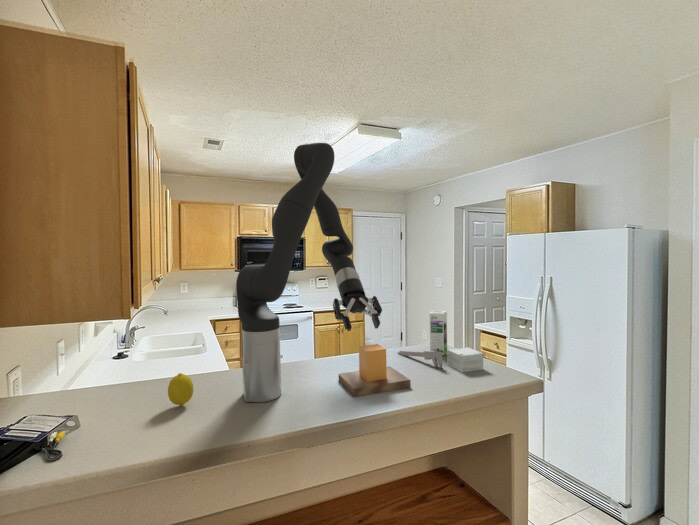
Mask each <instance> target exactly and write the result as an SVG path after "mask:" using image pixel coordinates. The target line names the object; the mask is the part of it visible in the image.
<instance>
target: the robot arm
mask: <svg viewBox="0 0 699 525" xmlns="http://www.w3.org/2000/svg"><path fill="white" fill-rule="evenodd" d="M293 161H294V165H295V168H296V171H297V173H298V175H299V178H300V180H299V181H298V182H297V183H296V184H295V185H293V186H292V187H291V188H290V189H289V190H288V191H286V193H285V194H284V195H283V196H282V197H281V198H280V200H279V202H278V205H277V206H276V209H275V211H274V213H273V214H272V215H273V216H272V218H271V229H272V236H273V245H272V246H273V247H272V250H271V251H270V254H269V256H268V257H267V258H268V259H267V260H266V262H265V263H264V264H248V265H245V266H243V267H242V268H241V269H240V271H239V272H238V274H237V277H236V284H235V285H236V287H235V289H236V290H235V293H236V294H235V295H236V304H237V313H238V318H239V321H240V323H241V334H242V337H241V340H242V358H241V359H242V360H241V361H242V385H243V387H242V389H243V391H242V392H243V398H244V402H245V403H249V402H252V403H265V402H269V401H274V400H276V399H277V398H279V397H280V396H281V395H282V370H281V368H282V366H281V365H282V364H281V332H280V331H281V329H280V317H279V316H278V315H277V314H276V313H275V312H273V311H272V310H271V309H270V307H269V305H268V303H273V302H275V301H277V300H279V299H280V298H281V296H282V295H283V293H284V292H285V291H284V290H285V289H286V286H287V283H288V279H289V275H290V272H291V268H292V265H293V262H294V258H295V255H296V252H297V250H298V247H299V245H300V241H301V239H302V237H303V234H304V232H305V229H306V227H307V224H308V222H309V219H310V217H311V214H312V212H313V209H314V210H315V212H316V215H317V218H318V219H317V220H318V222H319V226H320V230H321V233H322V234H323V236H326V237H337V238H333V239H330V240H327V241H325V242H324V243H323V244H322V246H321V252H322V255H323V257H324V259H326V261H327V262H328V263H329V265H330V266H331V268H332V270H333V273H334V276H335V277H334V278H335V281H336V286H337V289H338V292H339V296H340V299H338V298H336V297H335V298H334V300H333V302H332V307H333V312H334V317H335V319H336V320H341V321H342V323H343V326H344V329H345V330H346V331H347V332H350V331H351V330H352V323H351V320H350V317H349V315H350V313H352V314H357V313H358V314H359V313H360V314H361V313H363V314H364V315H366V316H367V315H368V316H369V317H370V318H371V321H372V324H373V326H374V329H379V326H380V324H381V320H380V318H379V317H380V316H381V314H382V312H383V309H382V306H381V305H380V302H379V300H378V297H376V295H373V296H372V297H370V298H368V297H367V295H366V292H365V289H364V286H363V284H362V281H361V279H360V275H359V273H358V272H357V270H356V266H355V263H354V261H353V259H352V258H351V257H350V256H351V255H352V254H353V253H354V252H353V251H354V246H353V242H352V241H351V240H350V238H349V236H348V235H347V233H346V232H345V230H344V227H343V223H342V220H341V216H340V212H339V210H338V207H337V204H335V202H334V201H333V200H332V198H331V197H330V196H329V195H328V194H327V193H326V191H325V190H324V189H323V187H324V185H325V183H326V182H327V180H328V178H329V176H330V174H331V172H332V170H333V167H334V164H335V151H334V148H333V147H332V145H331V144H330V143H328V142H325V141H324V142H322V141H321V142H318V141H317V142H312V143H304V144H300V145H298V146H296V148H295V150H294V153H293ZM341 307H343V308H344V309H345V311H344V312H342V311H341Z"/></svg>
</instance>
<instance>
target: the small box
mask: <svg viewBox="0 0 699 525" xmlns="http://www.w3.org/2000/svg"><path fill="white" fill-rule="evenodd" d="M446 358H447V359H446V360H447V362H446V363H447V366H448V367H450V366H451V367H450V368H452V369H454V370H456V371H458V372H460V373H466V372H467V373H468V372H474V371H482V370H484V353H482V352H481V351H478V350H476V349H473V348H472V347H471V348H470V347H468V346H467V347H460V348H450V349H447V355H446Z"/></svg>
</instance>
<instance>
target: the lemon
mask: <svg viewBox="0 0 699 525" xmlns="http://www.w3.org/2000/svg"><path fill="white" fill-rule="evenodd" d="M193 395H194V383H193V381H192V378H191V377H190V376H188V375H187V374H184V373H181V372H180V373H178V374H177V375H175V376H174V377H172V379H170V382H168V389H167V396H168V398H169V401H170V402H171V403H172V404H174V405H176V406H177V405H178V407H183V406H184V405H185V404H187V403H188V402H189V401H190V400H191V399H192V397H193Z"/></svg>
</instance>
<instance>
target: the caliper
mask: <svg viewBox="0 0 699 525" xmlns="http://www.w3.org/2000/svg"><path fill="white" fill-rule="evenodd" d="M397 353H398V354H399V355H400V354H401V355H400V356H407V357H419V358H423V359H424V361H425V360H426V361H428V360H429V361H430V360H431V361H432V364H433V366H434V368H438V369H440V370H441V369H442V368H443V367H444V365H443V363H444V362H443V355H442V354H441V352H440V351H439V348H434V351H430V350H423V351H415V350H399V351H398V352H397Z"/></svg>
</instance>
